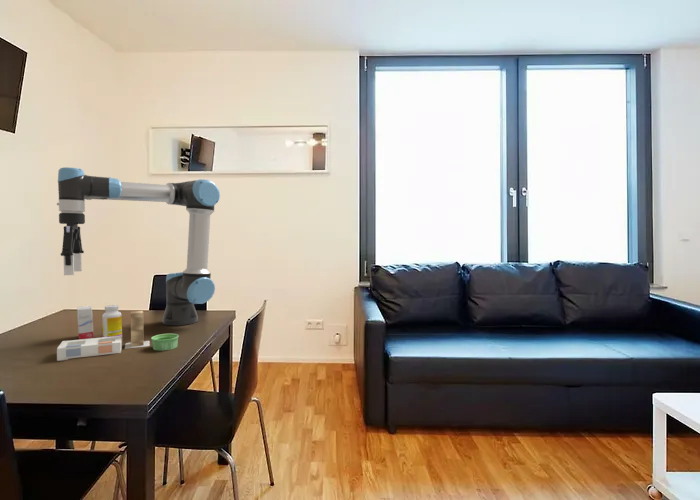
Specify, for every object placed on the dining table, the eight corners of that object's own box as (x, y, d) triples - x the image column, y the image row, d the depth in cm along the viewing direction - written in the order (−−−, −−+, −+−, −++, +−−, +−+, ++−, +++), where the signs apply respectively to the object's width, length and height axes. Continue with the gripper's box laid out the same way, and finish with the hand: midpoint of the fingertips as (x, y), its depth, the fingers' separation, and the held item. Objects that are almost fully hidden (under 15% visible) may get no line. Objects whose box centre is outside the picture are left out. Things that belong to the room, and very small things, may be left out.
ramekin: (151, 346, 151) (151, 334, 151) (178, 344, 154) (178, 332, 154) (150, 353, 142) (150, 340, 142) (178, 350, 146) (178, 338, 146)
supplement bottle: (126, 337, 163) (125, 305, 162) (111, 341, 157) (110, 308, 156) (113, 335, 165) (112, 304, 165) (98, 339, 159) (97, 306, 158)
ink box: (93, 338, 160) (92, 308, 160) (77, 340, 158) (77, 310, 157) (92, 334, 168) (92, 305, 167) (77, 335, 165) (77, 306, 164)
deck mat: (149, 341, 157) (149, 340, 157) (149, 347, 150) (149, 345, 150) (125, 344, 153) (125, 343, 153) (124, 349, 146) (124, 348, 146)
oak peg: (143, 342, 154) (143, 310, 154) (143, 345, 151) (143, 312, 150) (131, 343, 152) (131, 311, 152) (131, 346, 149) (130, 313, 148)
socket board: (122, 346, 150) (122, 334, 150) (120, 354, 141) (120, 341, 141) (62, 352, 142) (62, 340, 142) (57, 361, 133) (56, 347, 133)
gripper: (67, 213, 154) (68, 270, 155) (49, 210, 131) (51, 277, 132) (90, 214, 157) (91, 269, 158) (77, 211, 134) (78, 276, 135)
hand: (73, 273), depth 145 cm, fingers open, 13 cm apart
